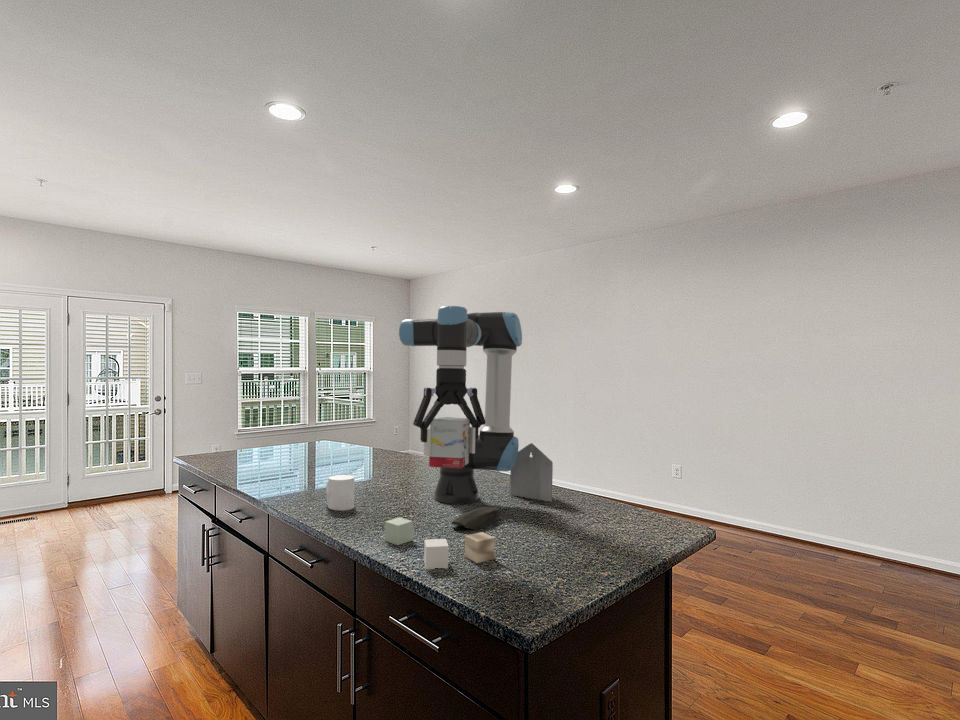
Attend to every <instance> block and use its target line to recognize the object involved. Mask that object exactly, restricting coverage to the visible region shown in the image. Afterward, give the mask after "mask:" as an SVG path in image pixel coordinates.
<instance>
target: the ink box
mask: <svg viewBox="0 0 960 720" xmlns="http://www.w3.org/2000/svg"><path fill="white" fill-rule="evenodd" d="M470 427H471V424H470V420H469V419H468V418H465V417H464V418H463V417H462V418H461V417H451V416H445V417H443V416H439V417H438V416H437V417H435V418H434V419H433V421H432V422H431V424H430V425H429V429H431V445H430V456H428V457H429V458H428V459H429V461H428V467H431V468H440V467H442V468H463V467H464V466H465V465H466V464H468V463H469V431H470Z"/></svg>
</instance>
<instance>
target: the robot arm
mask: <svg viewBox="0 0 960 720" xmlns="http://www.w3.org/2000/svg"><path fill="white" fill-rule="evenodd" d="M398 337H399V340H400V343H401V344H402V345H404V346H406V347H407V346H409V347H410V346H411V347H436V366H437V369H436V374H435V375H436V376H435V377H436V379H435V383H436V385H435V387H433V388H431V387H424V388H423V397H422V399H421V402H420V404H419V407H418V410H417V413H416V415H415V418H414V420H413V422H412V423H413V426H415V427H417V428H419V429H420V438H419V439H420V442H422V443H423V455H424V456H427V457H429V456H430V445H431V429H430V424H431V422H432V421H433V419H434V418H436V416H437V415H438V413H439V412H440V410H441V408H443V407H444V406H445V405H455V406H456V405H457V406H458V407H459V408H460V410H461V411H462V412H463V414H464V416H465V417H466V418H468V419H469V420H470V431H469V463H468V464H466V465H465V466H464V467H463V468H442V467H439V469H440V470H439V473H440V474H439V478H438V481H437V484H436V486H435V490H434V500H436V501H437V502H440V503H444V504H456V505H458V504H459V505H460V504H469V503H474V502H476V501H478V500H479V489H478V486H477V483H476V480H475V477H474V475H475V473H474V472H475V470H479V471H490V472H491V471H494V472H498V473H499V472H510V471H511V470H512V468H513V467H514V465H515V462H516V459H517V454H518V451H519V445H520V443H519V438H518V437H517V436H515V433H514V432H515V431H514V430H513V429H512V427H511V426H510V422H511V421H510V420H511V419H510V417H511V392H512V391H511V389H512V369H513V368H512V367H513V366H512V362H513V356H514V355H515V354H516V353H517V349H518V348H517V347H520V346H522V343H523V333H522V326H521V322H520V319H519V315H517V314H516V313H515V312H505V311H499V312H497V311H494V312H470V313H468V310H467V308H466V307H465V306H459V305H444V306H441V307H439V309H438V311H437V318H409V319H404V320H402V321H401V322H400V324H399V328H398ZM473 346H476V347H477V346H478V347H481V346H482V351H483V353H484V354H485V355H486V374H485V376H486V379H485V403H484V404H485V405H484V412H483V410H482V406H481V405H480V400H479V399H478V388H476V387H470V388H468V387H467V386H466V385H467V384H466V383H467V381H466V380H467V370H466V368H465V367H467V351H468V350H467V348H470V347H473ZM434 394H435V395H436V396H437V398H436V399H435V401H434V403H433V405H432V407H431V409H430V410H429V411H428V412H427V410H428V408H429V406H430V403H431V400H432V397H433V396H434ZM466 395H467V397H469V400H470V404H471V407H472V409H473V412H472V410H471V409H470V407H469V406H468V402H467V401H466V399H465V398H464V397H465V396H466ZM426 413H427V414H426ZM425 415H426V416H425ZM481 426H482V427H481ZM479 428H480V429H479Z"/></svg>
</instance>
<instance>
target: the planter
mask: <svg viewBox="0 0 960 720" xmlns="http://www.w3.org/2000/svg"><path fill="white" fill-rule="evenodd" d="M553 466H554V465H553V461H552V460H551V459H550V458H549V457H548V456H547V455H546V454H545V453H544V452H543V451H541V450H540V449H539V448H538V447H537V446H536V445H535V444H533V442H531V443H529V444H527V445H526V446H524V447H523V448H521V449H520V450H518V454H517V459H516V462H515V465H514V467H513V468H512V470H510V471H509V472H510V474H509V475H510V477H509V478H510V479H509V481H510V482H509V483H510V485H509V495H510V496H511V495H513V497H517V496H520V497H519V498H523V497H526V499H529V498H531V500H535V499H537V500H536V501H541V500H544V501H543V502H547V501H550V502H549V503H552V502H553V473H554V472H553V471H554V470H553V468H554V467H553Z"/></svg>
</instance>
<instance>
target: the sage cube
mask: <svg viewBox="0 0 960 720" xmlns="http://www.w3.org/2000/svg"><path fill="white" fill-rule="evenodd" d="M413 523H414V522H413V520H410V519H406V518H404V517H400V516H399V517H396V518H392V519H390V520H385V521H384V542H387V543H390V544H393V545H396V546H399V545H403V544H405V543H408V542H411V541H413V531H414V530H413V527H414V526H413Z"/></svg>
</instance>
